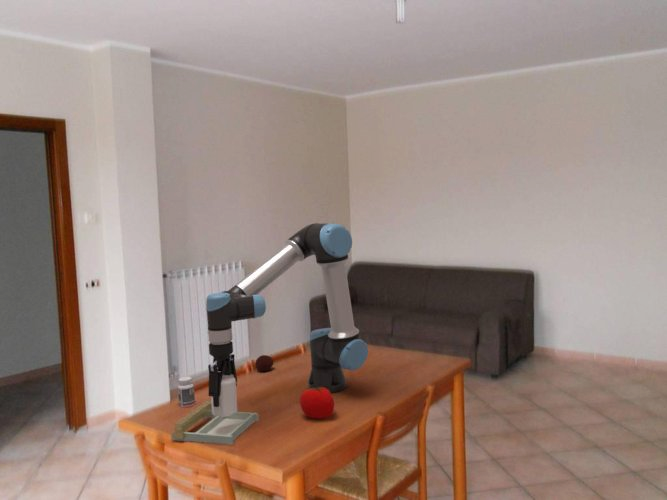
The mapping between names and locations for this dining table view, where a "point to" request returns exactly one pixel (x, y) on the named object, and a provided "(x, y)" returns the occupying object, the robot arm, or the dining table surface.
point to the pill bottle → (186, 392)
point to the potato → (264, 363)
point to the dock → (221, 428)
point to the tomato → (317, 403)
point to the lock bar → (191, 419)
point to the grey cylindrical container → (227, 395)
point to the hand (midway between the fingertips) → (224, 410)
